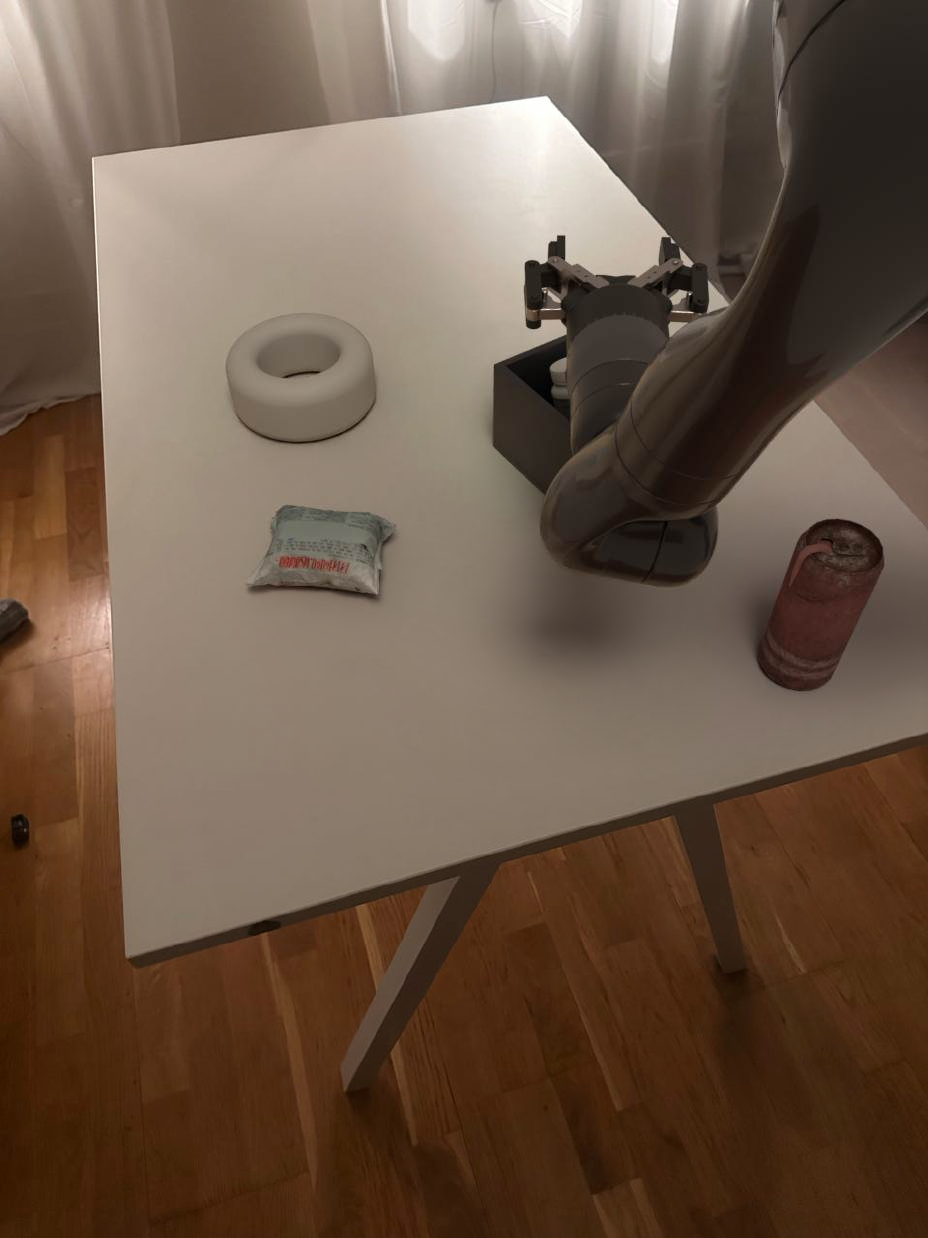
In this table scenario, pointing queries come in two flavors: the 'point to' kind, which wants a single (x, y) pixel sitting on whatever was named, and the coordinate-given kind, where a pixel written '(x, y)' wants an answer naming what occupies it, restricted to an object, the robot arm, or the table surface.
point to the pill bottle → (560, 387)
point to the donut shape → (304, 401)
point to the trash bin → (531, 414)
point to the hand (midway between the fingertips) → (611, 246)
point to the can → (820, 602)
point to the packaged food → (324, 549)
